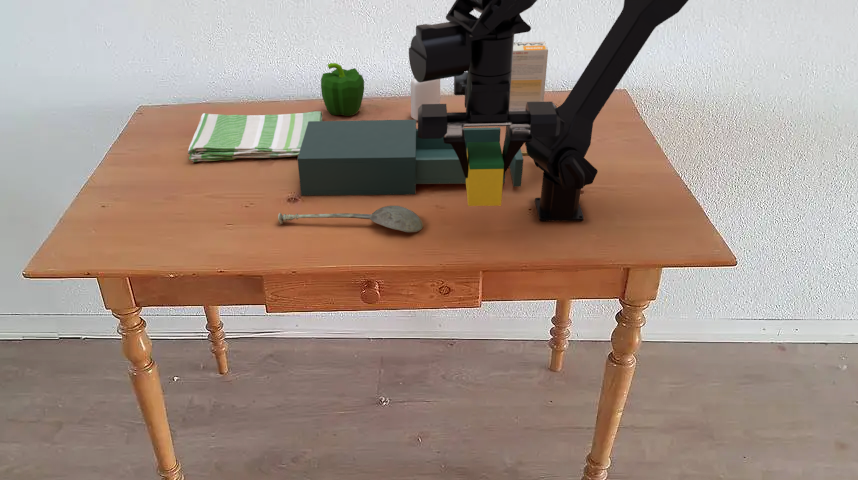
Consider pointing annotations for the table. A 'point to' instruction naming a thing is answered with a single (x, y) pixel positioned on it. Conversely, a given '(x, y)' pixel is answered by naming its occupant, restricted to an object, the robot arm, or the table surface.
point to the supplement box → (528, 74)
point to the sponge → (484, 174)
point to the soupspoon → (374, 218)
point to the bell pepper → (342, 90)
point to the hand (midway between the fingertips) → (484, 176)
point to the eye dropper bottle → (424, 94)
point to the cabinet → (358, 158)
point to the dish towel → (249, 136)
